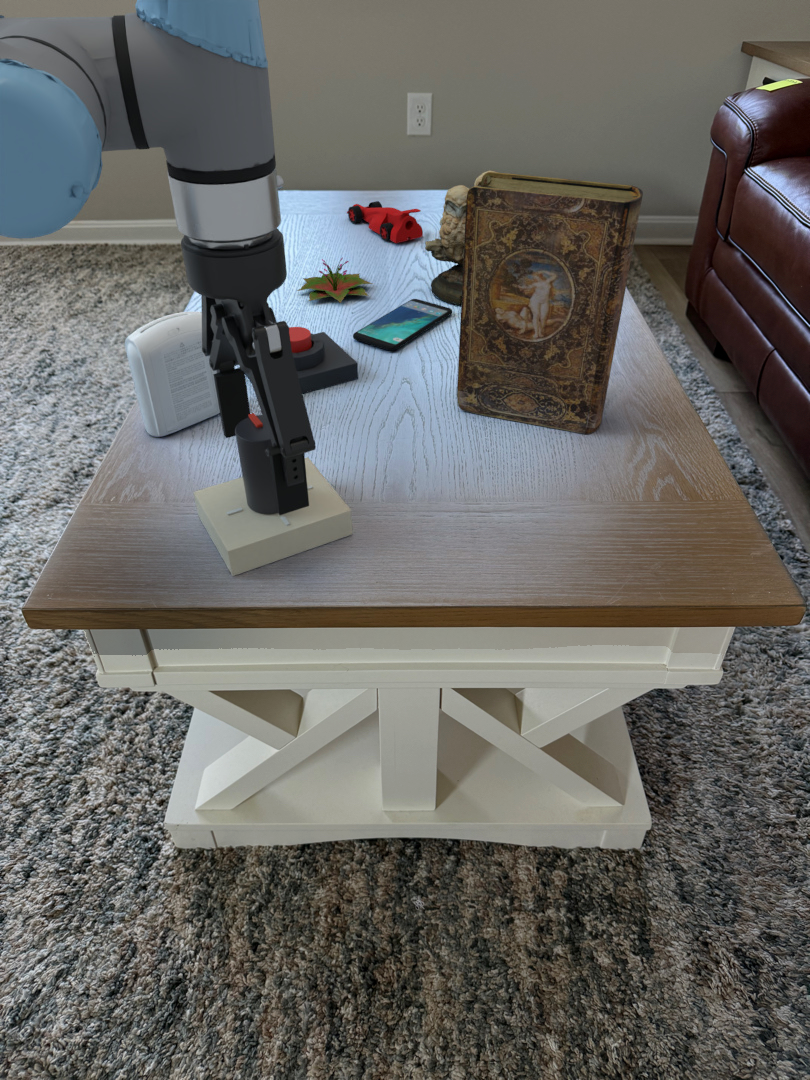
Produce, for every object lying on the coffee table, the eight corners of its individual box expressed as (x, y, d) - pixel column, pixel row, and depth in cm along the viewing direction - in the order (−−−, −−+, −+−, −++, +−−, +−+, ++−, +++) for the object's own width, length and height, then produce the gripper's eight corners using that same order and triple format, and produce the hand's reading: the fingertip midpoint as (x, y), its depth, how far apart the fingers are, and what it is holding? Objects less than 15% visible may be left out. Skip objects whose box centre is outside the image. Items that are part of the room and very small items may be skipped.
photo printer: (215, 396, 95) (197, 297, 87) (235, 409, 92) (219, 309, 84) (138, 428, 89) (112, 326, 81) (158, 443, 87) (133, 339, 79)
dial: (301, 505, 73) (292, 429, 68) (257, 520, 72) (244, 443, 66) (283, 481, 76) (273, 406, 71) (240, 494, 75) (227, 419, 69)
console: (232, 576, 70) (227, 550, 68) (198, 516, 77) (192, 490, 75) (352, 534, 75) (351, 508, 73) (310, 480, 81) (307, 455, 79)
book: (604, 412, 92) (646, 186, 75) (596, 436, 88) (638, 204, 71) (469, 388, 96) (481, 170, 80) (456, 410, 92) (465, 186, 76)
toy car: (370, 212, 147) (369, 183, 143) (423, 239, 135) (423, 209, 132) (342, 218, 144) (340, 189, 141) (394, 246, 133) (394, 216, 130)
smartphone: (454, 308, 112) (393, 348, 102) (454, 313, 112) (393, 353, 103) (413, 297, 115) (350, 334, 105) (413, 302, 115) (350, 339, 106)
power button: (286, 357, 95) (285, 344, 94) (274, 344, 97) (272, 331, 96) (317, 349, 96) (315, 336, 95) (304, 337, 99) (302, 324, 98)
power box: (268, 402, 94) (264, 372, 91) (239, 368, 100) (235, 339, 98) (358, 378, 98) (357, 349, 95) (325, 346, 105) (322, 318, 102)
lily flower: (299, 311, 113) (296, 280, 110) (292, 279, 122) (289, 249, 119) (381, 303, 115) (380, 273, 112) (368, 273, 124) (367, 243, 121)
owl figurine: (419, 306, 114) (420, 182, 103) (429, 275, 123) (431, 158, 112) (544, 313, 112) (558, 188, 101) (545, 281, 121) (558, 162, 110)
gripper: (351, 279, 51) (361, 531, 65) (224, 180, 68) (254, 397, 81) (241, 302, 48) (276, 561, 62) (137, 193, 65) (183, 415, 78)
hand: (263, 468), depth 72 cm, fingers open, 13 cm apart
